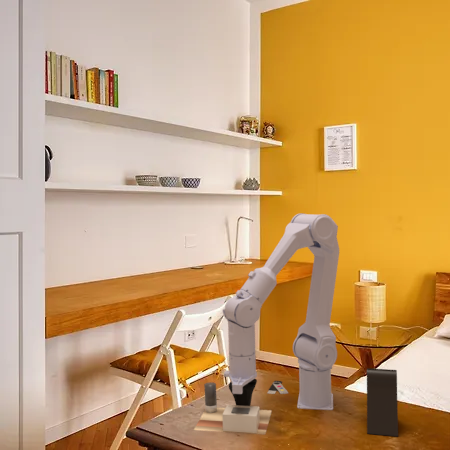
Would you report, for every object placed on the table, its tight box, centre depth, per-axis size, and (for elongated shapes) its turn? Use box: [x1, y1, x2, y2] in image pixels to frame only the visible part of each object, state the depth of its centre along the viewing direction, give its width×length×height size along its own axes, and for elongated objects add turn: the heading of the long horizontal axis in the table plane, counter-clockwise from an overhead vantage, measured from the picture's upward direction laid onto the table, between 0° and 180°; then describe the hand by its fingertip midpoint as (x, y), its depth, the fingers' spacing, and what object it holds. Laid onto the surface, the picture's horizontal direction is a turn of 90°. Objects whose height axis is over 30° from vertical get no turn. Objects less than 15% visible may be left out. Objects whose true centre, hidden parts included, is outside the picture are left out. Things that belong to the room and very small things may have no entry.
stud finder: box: [222, 404, 261, 434], centre depth 112 cm, size 5×7×4 cm
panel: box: [193, 407, 273, 435], centre depth 115 cm, size 12×15×1 cm
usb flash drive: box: [267, 380, 289, 395], centre depth 133 cm, size 9×5×1 cm, turn 162°
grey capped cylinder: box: [204, 381, 218, 413], centre depth 120 cm, size 3×3×6 cm
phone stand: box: [366, 367, 399, 437], centre depth 111 cm, size 9×6×12 cm, turn 164°
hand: (243, 414), depth 115 cm, fingers closed
